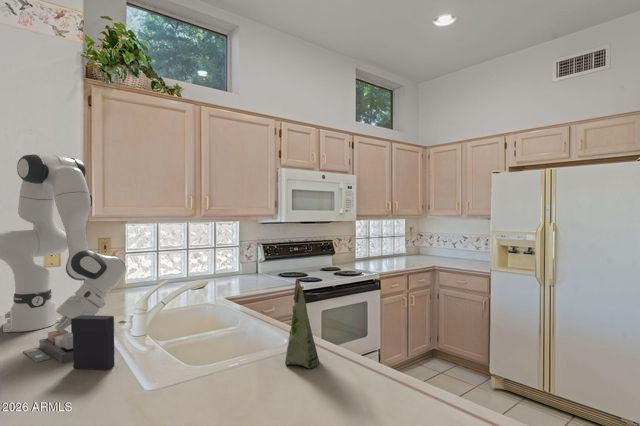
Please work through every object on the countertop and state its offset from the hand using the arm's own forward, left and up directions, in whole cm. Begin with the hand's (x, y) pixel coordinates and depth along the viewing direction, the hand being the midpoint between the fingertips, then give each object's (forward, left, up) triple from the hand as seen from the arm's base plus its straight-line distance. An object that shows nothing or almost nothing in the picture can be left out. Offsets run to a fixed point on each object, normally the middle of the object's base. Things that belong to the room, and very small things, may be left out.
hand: (57, 330), depth 125 cm
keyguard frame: (+7, 0, -5) cm, 9 cm away
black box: (+29, +1, -6) cm, 29 cm away
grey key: (+14, 0, -2) cm, 14 cm away
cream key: (+7, 0, -4) cm, 8 cm away
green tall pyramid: (+76, +40, -6) cm, 86 cm away
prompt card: (+4, -7, -5) cm, 10 cm away
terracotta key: (0, 0, -4) cm, 4 cm away
